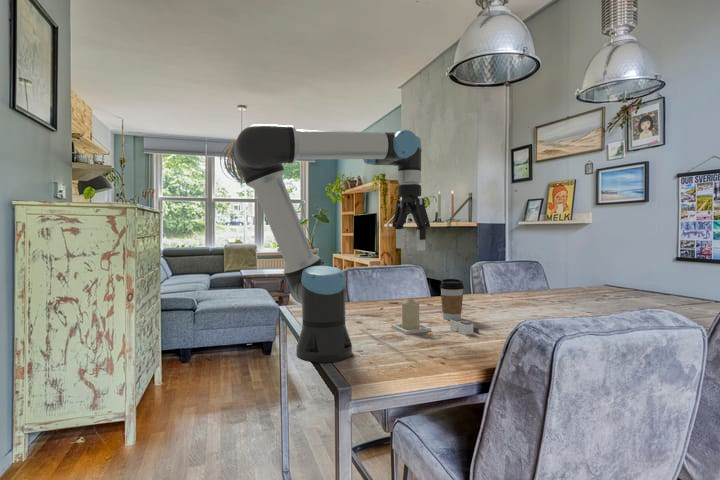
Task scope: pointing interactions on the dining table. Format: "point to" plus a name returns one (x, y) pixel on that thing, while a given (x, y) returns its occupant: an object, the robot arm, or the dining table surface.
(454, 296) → the coffee cup
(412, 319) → the beige bottle
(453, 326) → the knob
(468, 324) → the knob
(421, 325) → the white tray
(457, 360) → the dining table surface
